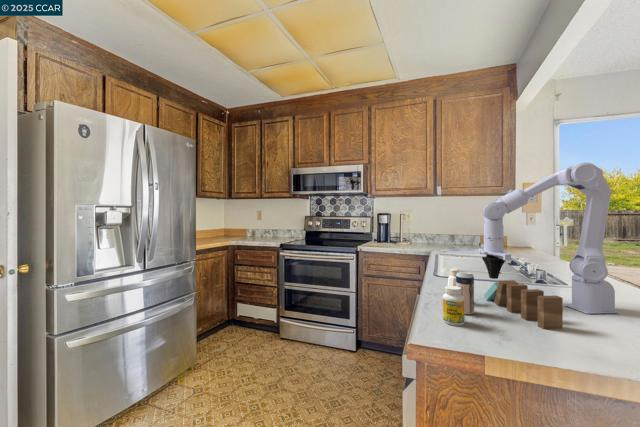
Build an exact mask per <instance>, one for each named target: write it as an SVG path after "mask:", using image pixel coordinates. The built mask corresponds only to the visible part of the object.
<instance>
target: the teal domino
mask: <svg viewBox="0 0 640 427" xmlns="http://www.w3.org/2000/svg"><path fill="white" fill-rule="evenodd" d="M498 282H499V281H498ZM498 282H493V283H492V285H491V286H490V287H489V289H487V291H486V292H485V293H484V295H483V296H484V298H485V300H486V301H495V297H496V292H497V287H498Z"/></svg>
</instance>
